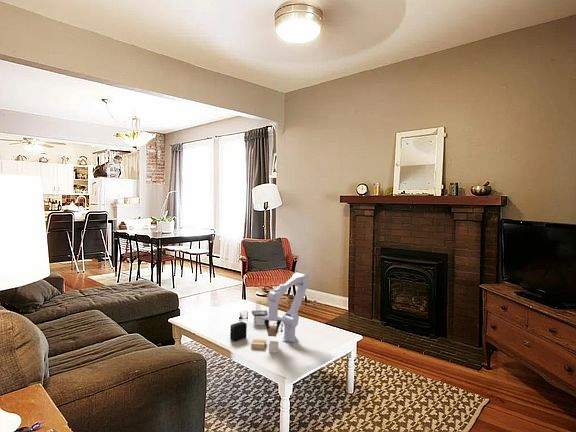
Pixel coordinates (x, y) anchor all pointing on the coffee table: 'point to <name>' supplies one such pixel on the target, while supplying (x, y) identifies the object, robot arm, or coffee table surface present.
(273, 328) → the walnut cube
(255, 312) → the oil diffuser
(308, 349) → the coffee table surface
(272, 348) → the grey cube
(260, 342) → the oak base
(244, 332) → the electronic device
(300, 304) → the robot arm
